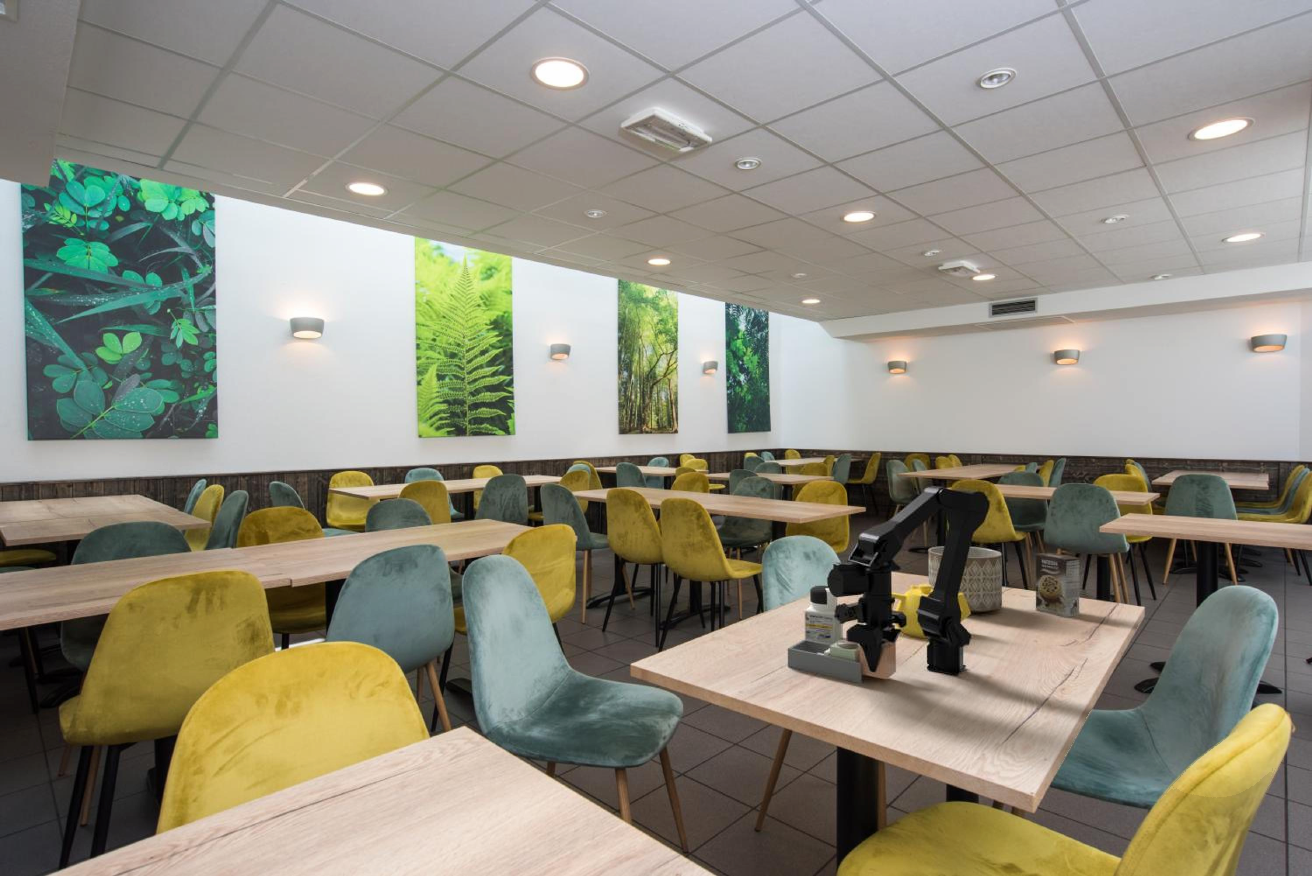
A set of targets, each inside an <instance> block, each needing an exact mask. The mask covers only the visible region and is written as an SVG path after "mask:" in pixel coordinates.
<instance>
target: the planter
mask: <svg viewBox="0 0 1312 876" xmlns="http://www.w3.org/2000/svg"><path fill="white" fill-rule="evenodd" d="M944 546H945V545H944ZM944 546H943V545H941V546H932V547H929V548H928V585H931V586H932V589H931V590H933V589H934V586H935V582H936V578H937V574H938V570H939V566H940V562H941V558H942V554H943V550H944ZM1002 555H1003V554H1002V552H1001V551H998V550H993V549H990V548H986V547H985V548H984V547H977V546H970V549H969V553H968V557H967V561H966V565H965V569H964V573H963V578H962V582H961V586H960V590H959V593H963V594H964V596H965V599H966V601H967V604H968V607H969V609H970V612H971V614H976V613H983V612H990V611H996V610H999V609H1001V608H1002V607H1003V557H1002Z"/></svg>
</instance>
